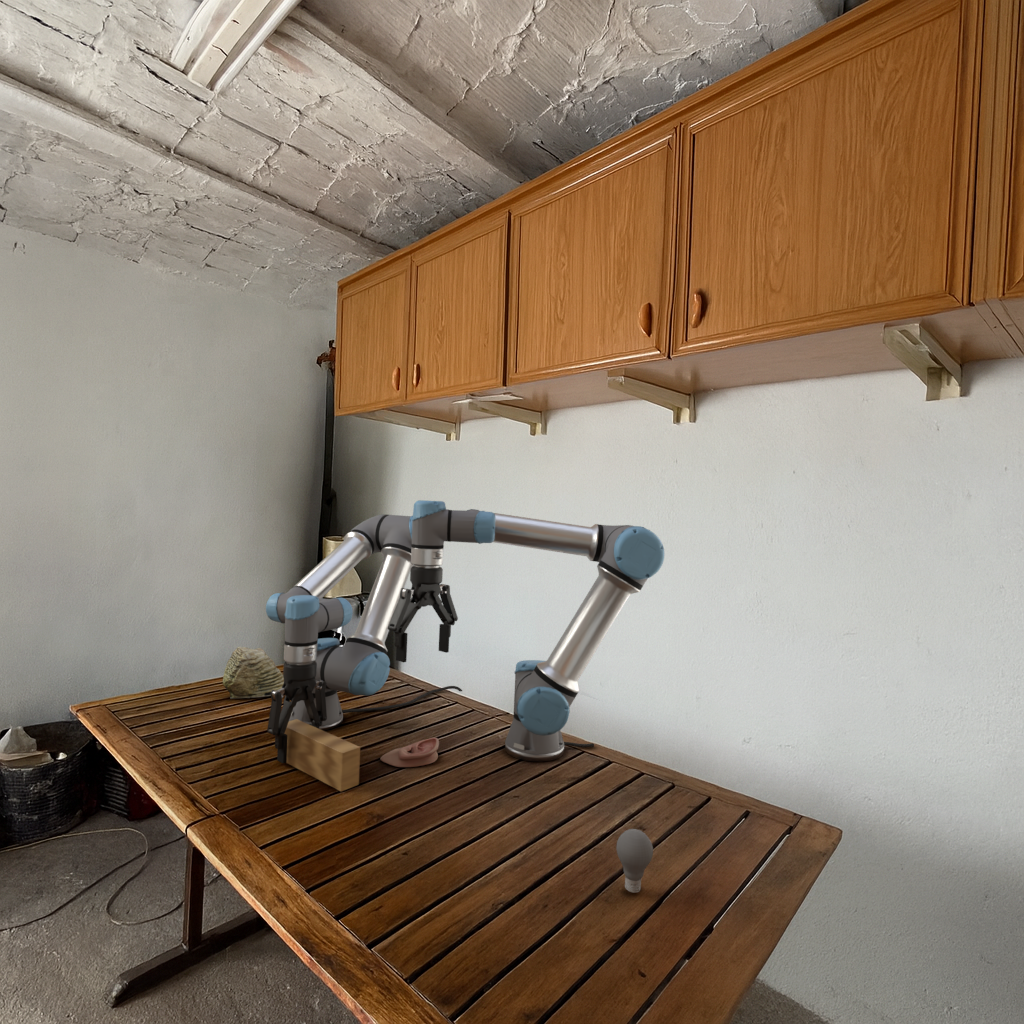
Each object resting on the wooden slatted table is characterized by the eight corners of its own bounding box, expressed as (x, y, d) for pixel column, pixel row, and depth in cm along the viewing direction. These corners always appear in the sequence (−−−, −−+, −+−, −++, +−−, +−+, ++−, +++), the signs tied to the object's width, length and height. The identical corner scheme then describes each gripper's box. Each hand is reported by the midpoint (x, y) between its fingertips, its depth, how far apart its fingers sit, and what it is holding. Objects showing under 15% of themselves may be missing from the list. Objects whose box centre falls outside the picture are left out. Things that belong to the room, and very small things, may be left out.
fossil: (218, 695, 195) (220, 647, 195) (278, 685, 208) (279, 640, 207) (228, 703, 189) (230, 653, 188) (289, 692, 201) (290, 645, 201)
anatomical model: (375, 747, 151) (394, 730, 162) (374, 764, 151) (393, 746, 162) (428, 754, 148) (443, 736, 159) (427, 771, 148) (443, 752, 159)
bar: (278, 758, 152) (279, 723, 152) (295, 752, 156) (296, 719, 155) (341, 791, 136) (342, 753, 136) (358, 784, 140) (360, 747, 140)
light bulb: (610, 879, 108) (613, 822, 108) (644, 879, 109) (647, 822, 109) (619, 902, 102) (622, 840, 102) (655, 901, 103) (658, 840, 103)
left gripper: (269, 672, 141) (266, 774, 141) (345, 657, 156) (341, 749, 157) (252, 665, 145) (248, 764, 146) (327, 651, 161) (323, 741, 161)
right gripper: (396, 570, 136) (392, 668, 137) (474, 564, 156) (470, 650, 156) (374, 567, 141) (370, 662, 142) (452, 562, 161) (448, 645, 161)
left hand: (296, 756), depth 151 cm, fingers open, 7 cm apart
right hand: (423, 656), depth 149 cm, fingers open, 13 cm apart
